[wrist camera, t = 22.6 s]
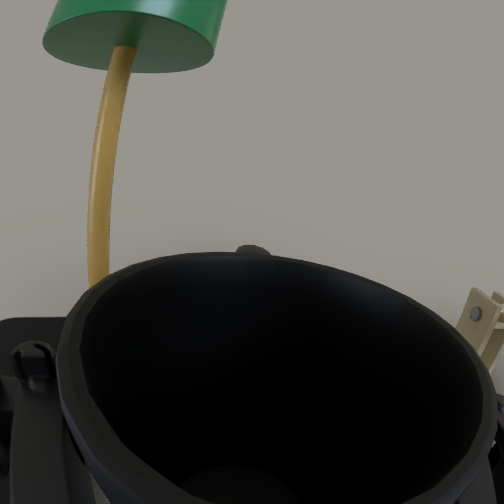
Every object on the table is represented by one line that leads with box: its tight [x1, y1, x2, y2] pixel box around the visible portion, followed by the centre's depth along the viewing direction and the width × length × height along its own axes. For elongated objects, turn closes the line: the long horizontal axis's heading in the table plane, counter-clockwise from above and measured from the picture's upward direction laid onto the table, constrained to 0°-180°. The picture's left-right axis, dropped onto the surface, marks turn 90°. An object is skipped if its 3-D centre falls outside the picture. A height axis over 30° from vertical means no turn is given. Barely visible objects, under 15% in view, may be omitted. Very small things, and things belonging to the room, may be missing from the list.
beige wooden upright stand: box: [455, 288, 504, 375], centre depth 22 cm, size 10×8×15 cm
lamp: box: [43, 0, 227, 289], centre depth 17 cm, size 12×12×36 cm
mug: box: [55, 245, 498, 504], centre depth 8 cm, size 8×12×10 cm
